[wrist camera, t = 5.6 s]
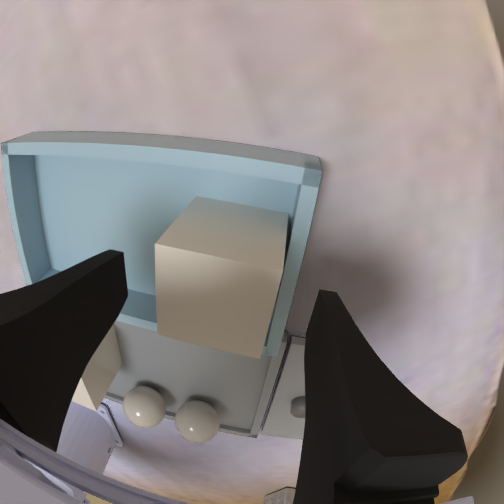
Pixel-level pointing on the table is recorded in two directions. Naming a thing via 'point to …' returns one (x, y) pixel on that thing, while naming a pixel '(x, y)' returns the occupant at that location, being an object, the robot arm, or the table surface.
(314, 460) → the robot arm
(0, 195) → the table surface
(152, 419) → the pebble
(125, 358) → the slate tray
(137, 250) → the blue bin
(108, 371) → the stone block far
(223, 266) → the stone block near
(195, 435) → the pebble
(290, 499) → the coffee box
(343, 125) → the table surface
